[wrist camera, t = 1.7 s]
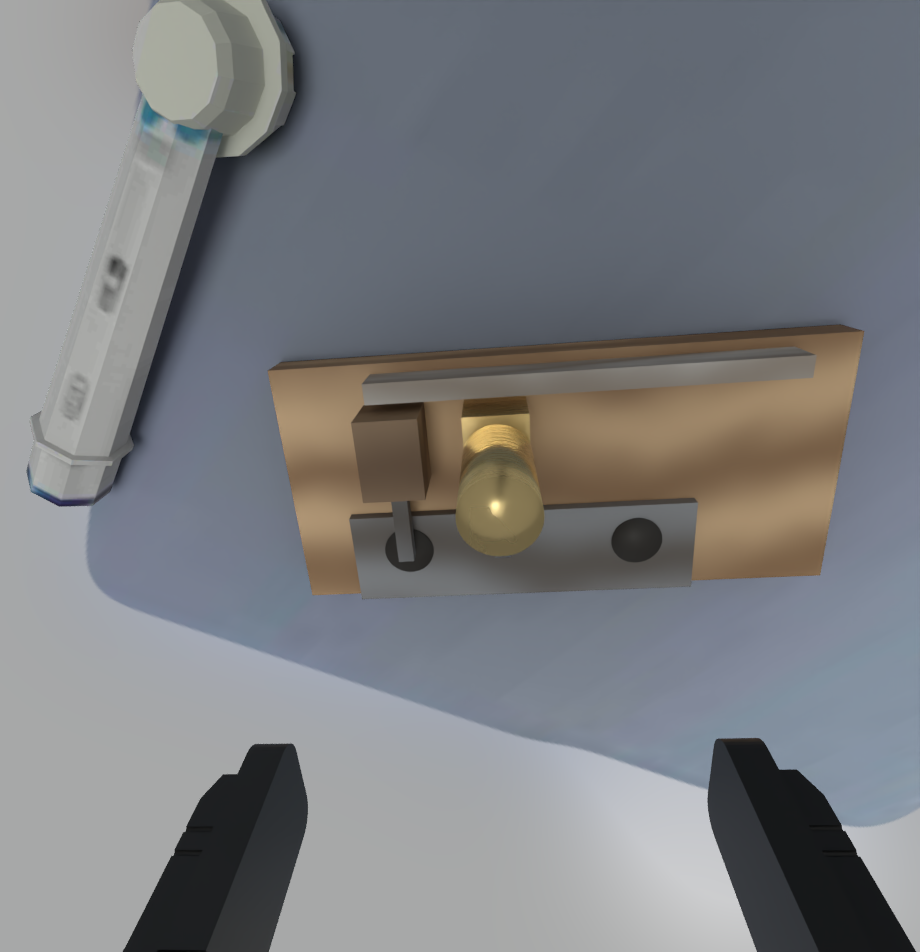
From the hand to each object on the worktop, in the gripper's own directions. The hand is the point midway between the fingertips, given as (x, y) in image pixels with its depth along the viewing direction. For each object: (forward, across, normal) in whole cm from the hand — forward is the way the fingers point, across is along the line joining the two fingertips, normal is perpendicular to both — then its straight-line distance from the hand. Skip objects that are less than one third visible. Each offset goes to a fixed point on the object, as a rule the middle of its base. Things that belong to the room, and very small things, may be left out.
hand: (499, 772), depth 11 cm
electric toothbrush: (+22, +16, -8) cm, 29 cm away
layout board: (+22, -3, +2) cm, 22 cm away
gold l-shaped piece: (+20, 0, +2) cm, 20 cm away
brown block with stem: (+20, +5, +2) cm, 21 cm away
